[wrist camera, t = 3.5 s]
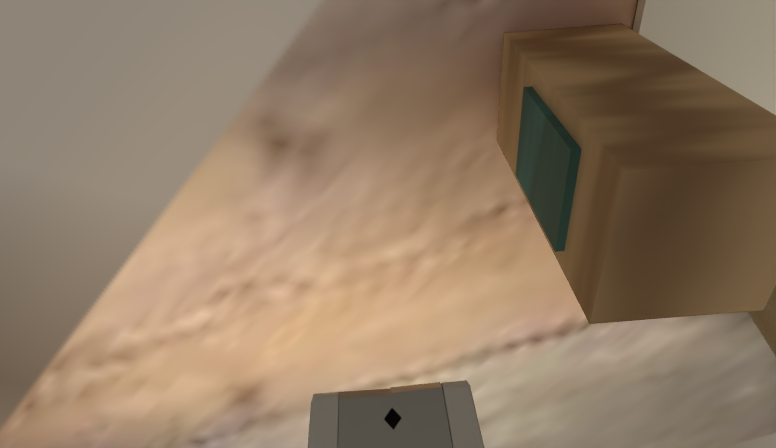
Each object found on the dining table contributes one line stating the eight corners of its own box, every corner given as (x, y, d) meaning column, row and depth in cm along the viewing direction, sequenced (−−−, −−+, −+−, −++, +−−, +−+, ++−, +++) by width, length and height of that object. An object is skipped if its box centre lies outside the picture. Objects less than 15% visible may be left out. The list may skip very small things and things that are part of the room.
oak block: (621, 23, 22) (841, 153, 12) (601, 132, 25) (763, 310, 15) (496, 33, 22) (612, 171, 12) (490, 141, 24) (578, 324, 15)
